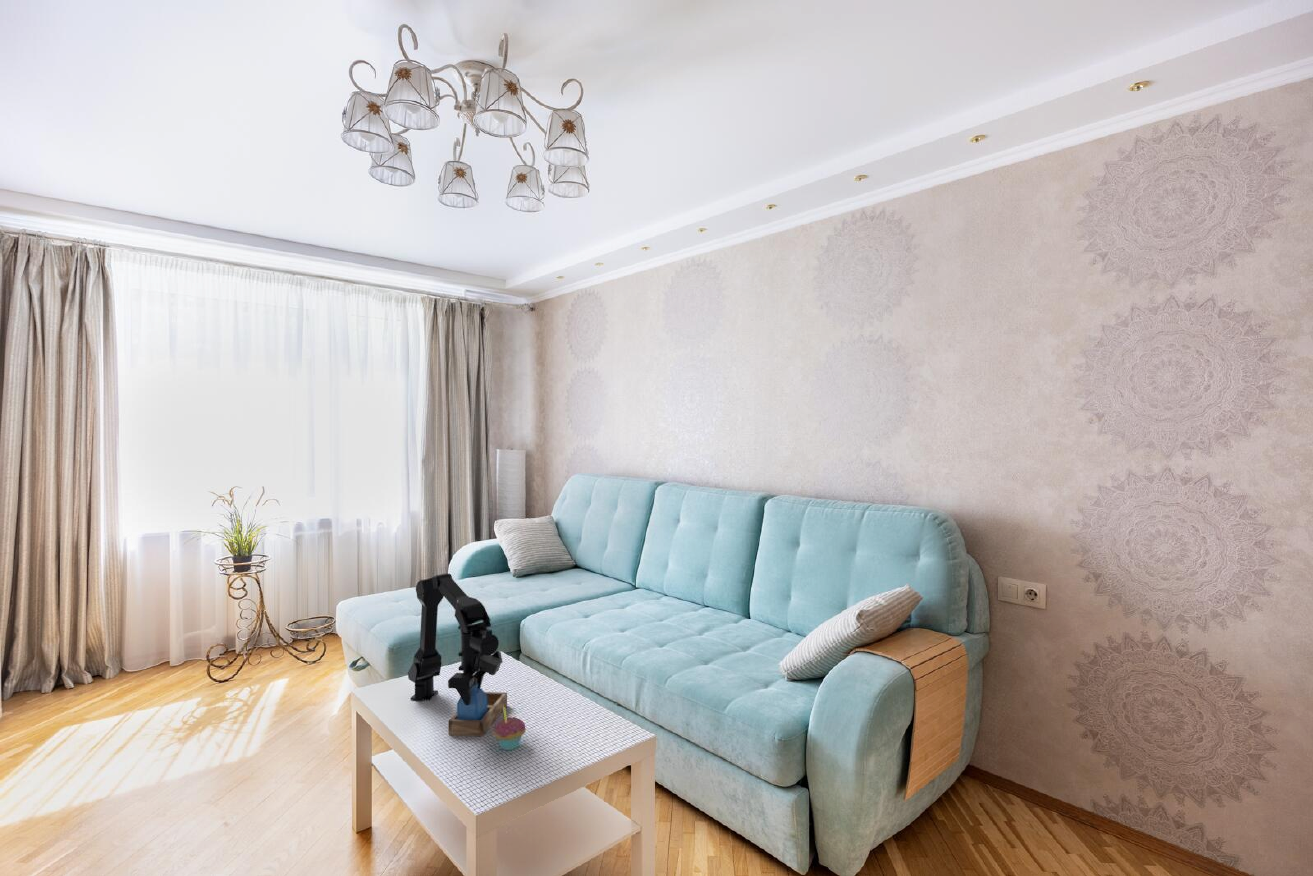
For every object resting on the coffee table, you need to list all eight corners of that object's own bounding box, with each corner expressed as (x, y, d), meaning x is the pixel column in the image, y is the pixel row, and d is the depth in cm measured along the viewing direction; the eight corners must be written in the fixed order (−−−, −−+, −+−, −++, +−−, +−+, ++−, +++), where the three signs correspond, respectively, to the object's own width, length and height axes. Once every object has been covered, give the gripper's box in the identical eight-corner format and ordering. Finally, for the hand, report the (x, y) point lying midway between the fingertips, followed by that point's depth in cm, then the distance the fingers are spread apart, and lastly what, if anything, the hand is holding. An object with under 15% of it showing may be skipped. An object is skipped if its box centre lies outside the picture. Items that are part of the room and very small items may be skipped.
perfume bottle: (477, 726, 174) (476, 685, 174) (457, 724, 175) (456, 683, 175) (487, 716, 180) (486, 676, 180) (468, 714, 181) (467, 674, 181)
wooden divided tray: (476, 704, 192) (476, 691, 192) (507, 705, 191) (506, 692, 191) (448, 734, 173) (448, 720, 173) (482, 736, 172) (482, 722, 172)
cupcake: (509, 757, 161) (508, 711, 161) (486, 748, 165) (486, 704, 165) (532, 742, 168) (531, 699, 168) (510, 735, 173) (509, 692, 172)
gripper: (485, 659, 167) (486, 716, 167) (509, 636, 186) (510, 687, 186) (446, 658, 168) (447, 714, 169) (474, 635, 187) (475, 686, 187)
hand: (472, 700), depth 177 cm, fingers closed on perfume bottle, 6 cm apart
